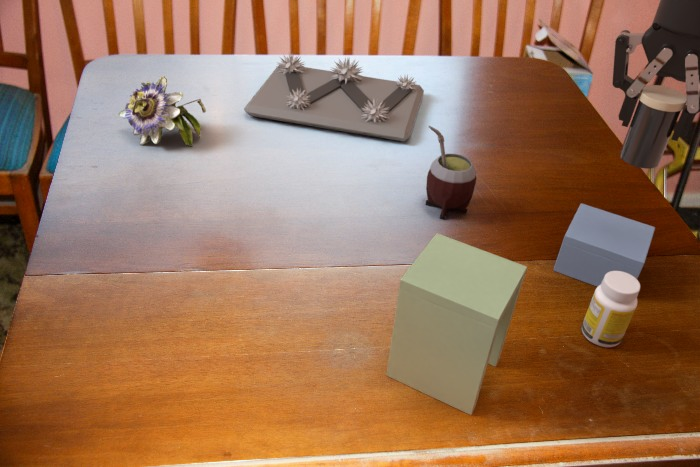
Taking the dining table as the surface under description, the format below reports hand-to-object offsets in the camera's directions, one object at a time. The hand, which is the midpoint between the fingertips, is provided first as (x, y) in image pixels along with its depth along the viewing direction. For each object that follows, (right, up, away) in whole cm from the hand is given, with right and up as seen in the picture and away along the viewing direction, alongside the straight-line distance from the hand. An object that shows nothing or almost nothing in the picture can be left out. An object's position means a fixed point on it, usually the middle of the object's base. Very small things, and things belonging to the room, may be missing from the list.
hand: (650, 130), depth 77 cm
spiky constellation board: (-38, +12, +46) cm, 61 cm away
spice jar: (0, -3, +2) cm, 4 cm away
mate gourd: (-21, -9, +21) cm, 31 cm away
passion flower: (-66, +4, +33) cm, 74 cm away
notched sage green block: (-25, -27, -4) cm, 37 cm away
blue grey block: (-1, -17, +13) cm, 21 cm away
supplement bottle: (-5, -24, +2) cm, 25 cm away
